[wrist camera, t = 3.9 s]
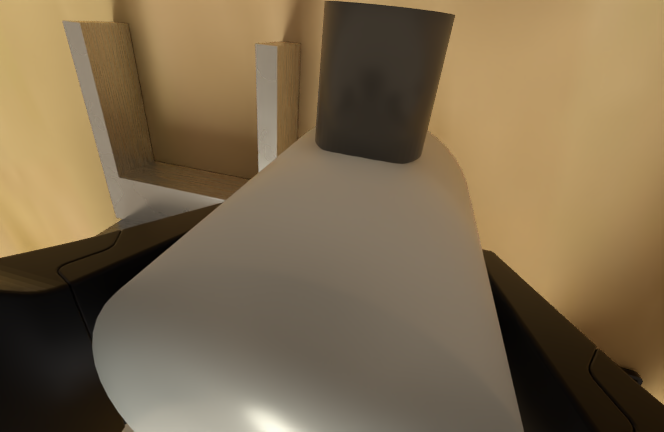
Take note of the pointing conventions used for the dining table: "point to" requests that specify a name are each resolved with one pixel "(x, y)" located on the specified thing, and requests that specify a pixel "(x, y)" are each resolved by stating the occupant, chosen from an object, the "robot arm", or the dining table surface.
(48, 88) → the dining table surface
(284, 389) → the light bulb
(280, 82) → the u-shaped channel
